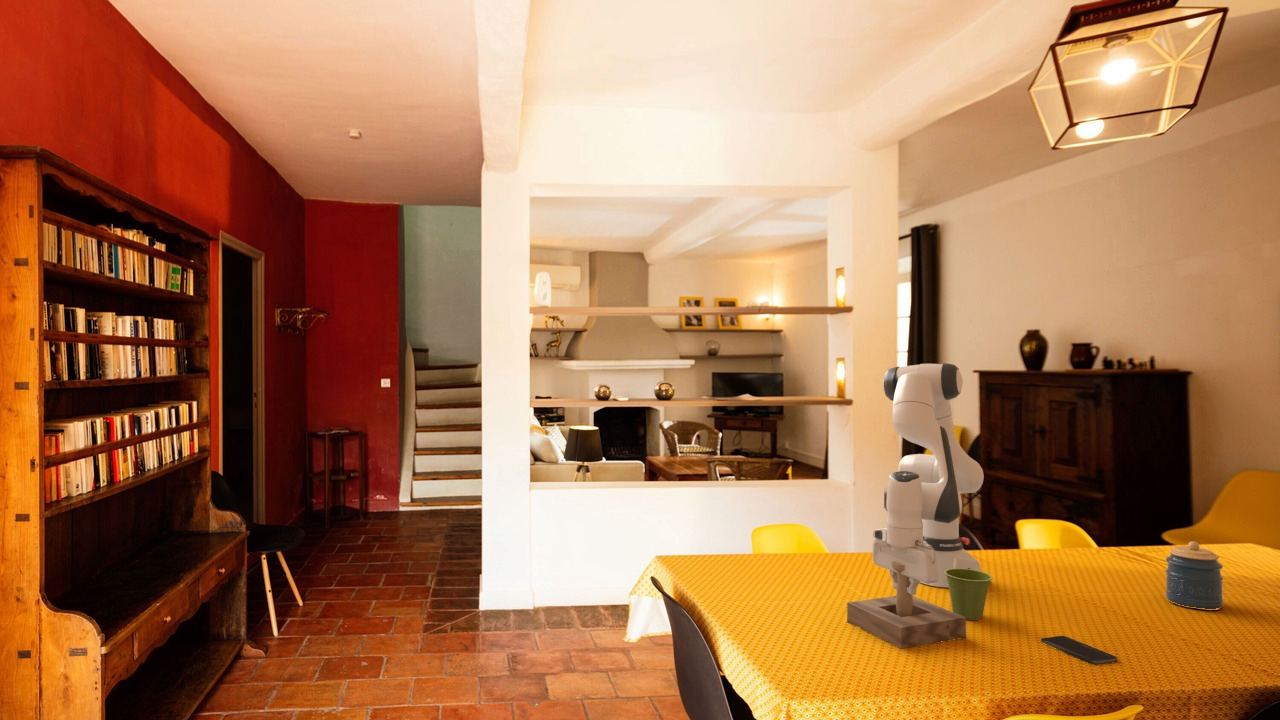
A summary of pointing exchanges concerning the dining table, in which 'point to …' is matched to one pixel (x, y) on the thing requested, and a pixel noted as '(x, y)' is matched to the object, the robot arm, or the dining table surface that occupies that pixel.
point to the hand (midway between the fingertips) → (904, 591)
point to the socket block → (906, 622)
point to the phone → (1079, 650)
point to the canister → (1194, 577)
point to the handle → (902, 592)
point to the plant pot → (968, 591)
